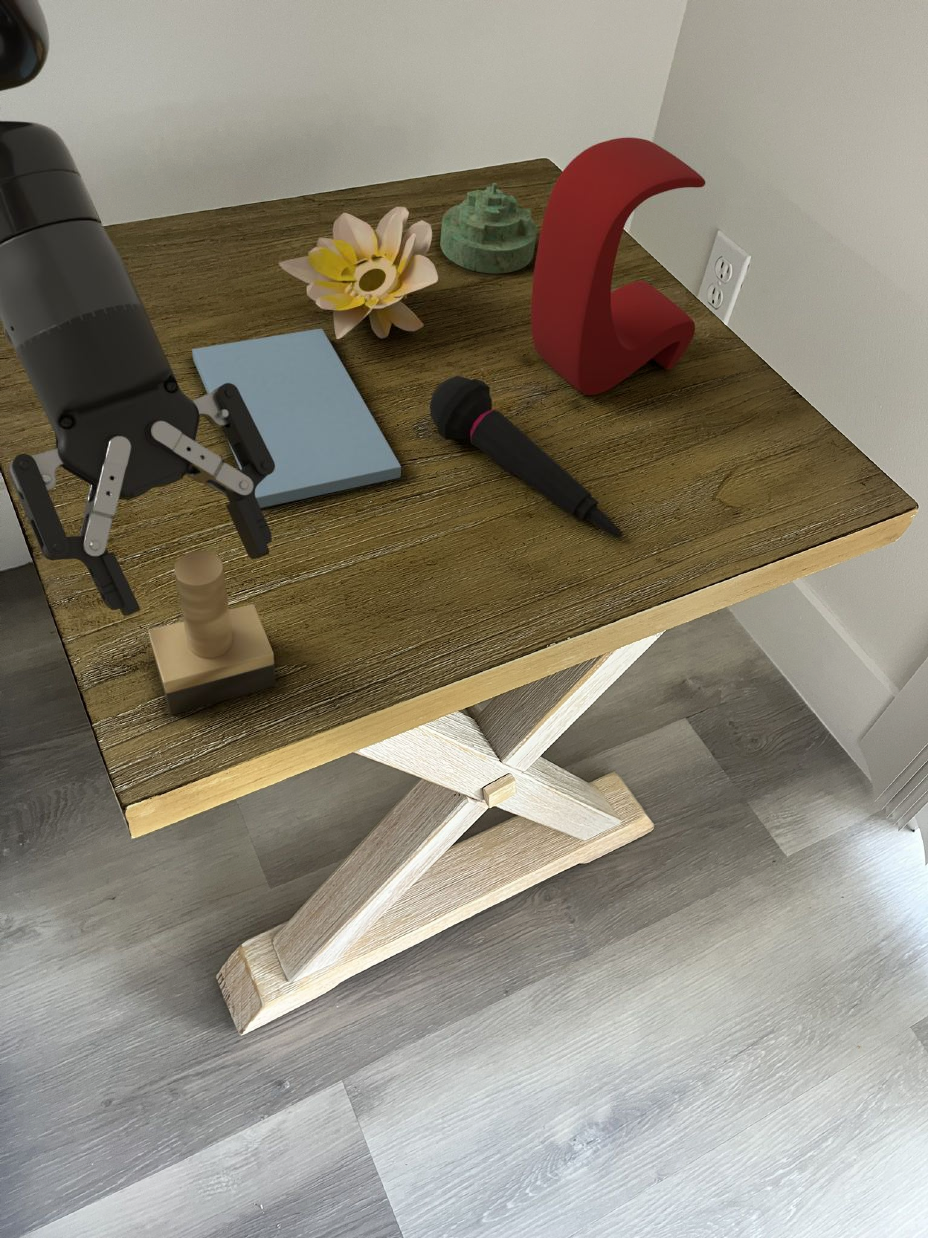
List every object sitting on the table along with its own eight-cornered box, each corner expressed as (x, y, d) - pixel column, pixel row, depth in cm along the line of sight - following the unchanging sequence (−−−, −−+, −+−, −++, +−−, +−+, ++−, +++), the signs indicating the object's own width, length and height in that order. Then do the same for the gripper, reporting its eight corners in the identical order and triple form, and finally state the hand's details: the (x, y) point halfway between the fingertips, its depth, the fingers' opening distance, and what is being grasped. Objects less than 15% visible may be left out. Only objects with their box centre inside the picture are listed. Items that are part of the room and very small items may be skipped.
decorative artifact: (517, 221, 109) (430, 225, 106) (526, 158, 103) (435, 161, 101) (545, 270, 103) (453, 276, 100) (557, 206, 97) (460, 210, 95)
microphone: (618, 552, 81) (445, 413, 87) (653, 499, 78) (471, 357, 83) (586, 572, 77) (407, 424, 83) (621, 516, 74) (432, 365, 79)
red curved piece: (562, 408, 88) (608, 191, 73) (516, 363, 92) (551, 148, 76) (685, 366, 94) (752, 158, 79) (637, 325, 98) (693, 119, 83)
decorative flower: (262, 259, 95) (283, 160, 89) (365, 265, 101) (392, 173, 95) (317, 356, 88) (346, 257, 81) (425, 357, 94) (460, 264, 87)
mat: (256, 509, 76) (255, 497, 75) (193, 360, 87) (191, 348, 86) (400, 477, 80) (401, 466, 79) (322, 338, 91) (322, 327, 90)
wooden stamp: (171, 716, 63) (146, 609, 55) (155, 663, 66) (129, 554, 58) (276, 686, 66) (267, 580, 58) (257, 636, 68) (246, 528, 60)
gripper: (-46, 345, 49) (97, 635, 53) (209, 271, 56) (322, 534, 59) (-53, 376, 56) (75, 633, 59) (177, 307, 62) (280, 542, 66)
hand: (198, 583), depth 59 cm, fingers open, 8 cm apart
